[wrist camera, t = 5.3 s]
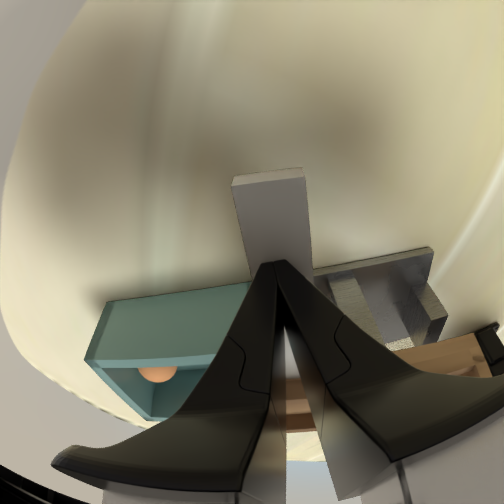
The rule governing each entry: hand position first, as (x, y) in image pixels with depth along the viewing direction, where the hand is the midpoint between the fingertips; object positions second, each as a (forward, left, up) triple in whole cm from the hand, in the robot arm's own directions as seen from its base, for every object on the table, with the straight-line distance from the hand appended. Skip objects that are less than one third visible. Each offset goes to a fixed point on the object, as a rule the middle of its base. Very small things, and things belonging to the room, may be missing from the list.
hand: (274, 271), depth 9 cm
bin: (-10, +6, -6) cm, 13 cm away
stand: (-10, -5, -6) cm, 12 cm away
